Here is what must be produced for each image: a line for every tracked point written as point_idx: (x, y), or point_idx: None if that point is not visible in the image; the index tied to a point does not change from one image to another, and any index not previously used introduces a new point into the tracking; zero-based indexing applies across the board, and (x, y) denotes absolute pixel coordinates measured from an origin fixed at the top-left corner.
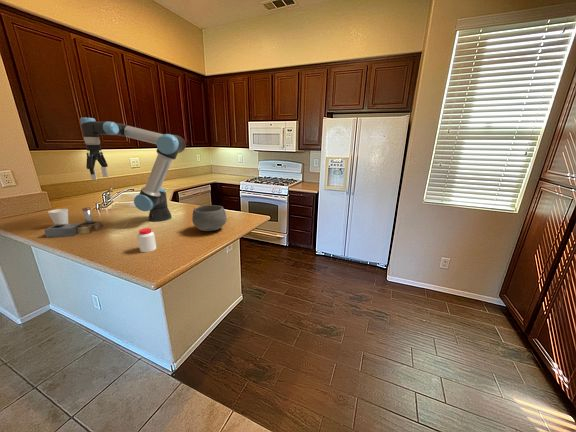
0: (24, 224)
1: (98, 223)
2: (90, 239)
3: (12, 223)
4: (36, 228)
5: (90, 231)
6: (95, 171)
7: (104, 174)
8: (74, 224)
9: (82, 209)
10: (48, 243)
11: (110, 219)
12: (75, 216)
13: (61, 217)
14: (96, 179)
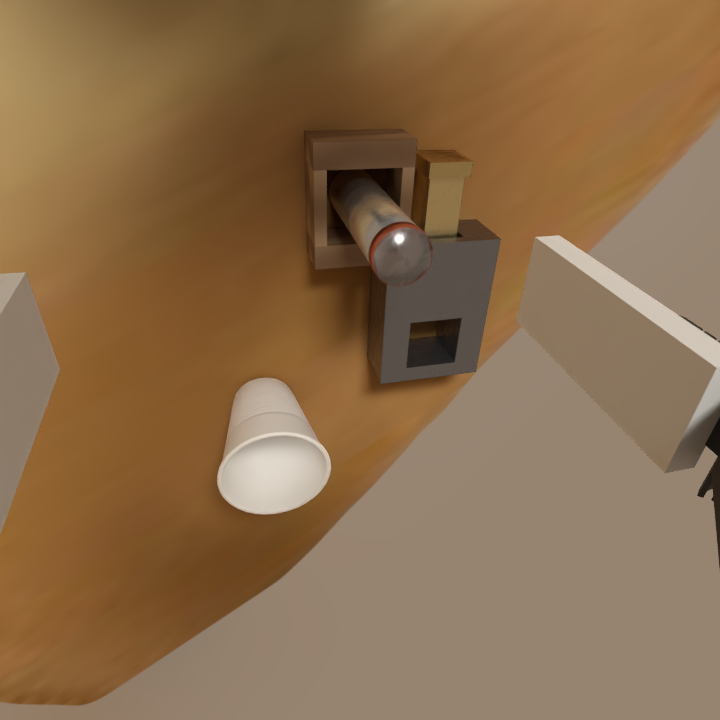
0: (207, 573)
1: (368, 140)
2: (581, 72)
3: (187, 620)
4: None
5: (439, 152)
6: (664, 326)
7: (26, 365)
8: None
9: (423, 271)
10: None
11: (83, 173)
12: None
13: (302, 418)
14: (560, 239)
